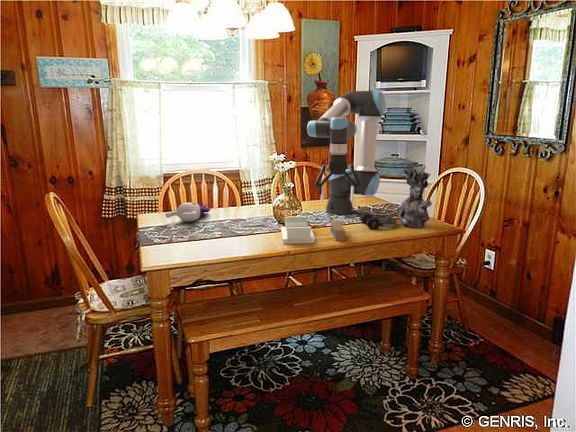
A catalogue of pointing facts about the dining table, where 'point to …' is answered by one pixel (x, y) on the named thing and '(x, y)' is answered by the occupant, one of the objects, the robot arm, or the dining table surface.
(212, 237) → the dining table surface
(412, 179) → the sculpture
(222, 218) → the dining table surface
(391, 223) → the headset
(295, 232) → the stand
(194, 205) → the figurine
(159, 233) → the dining table surface
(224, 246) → the dining table surface
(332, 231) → the tan wooden plank
